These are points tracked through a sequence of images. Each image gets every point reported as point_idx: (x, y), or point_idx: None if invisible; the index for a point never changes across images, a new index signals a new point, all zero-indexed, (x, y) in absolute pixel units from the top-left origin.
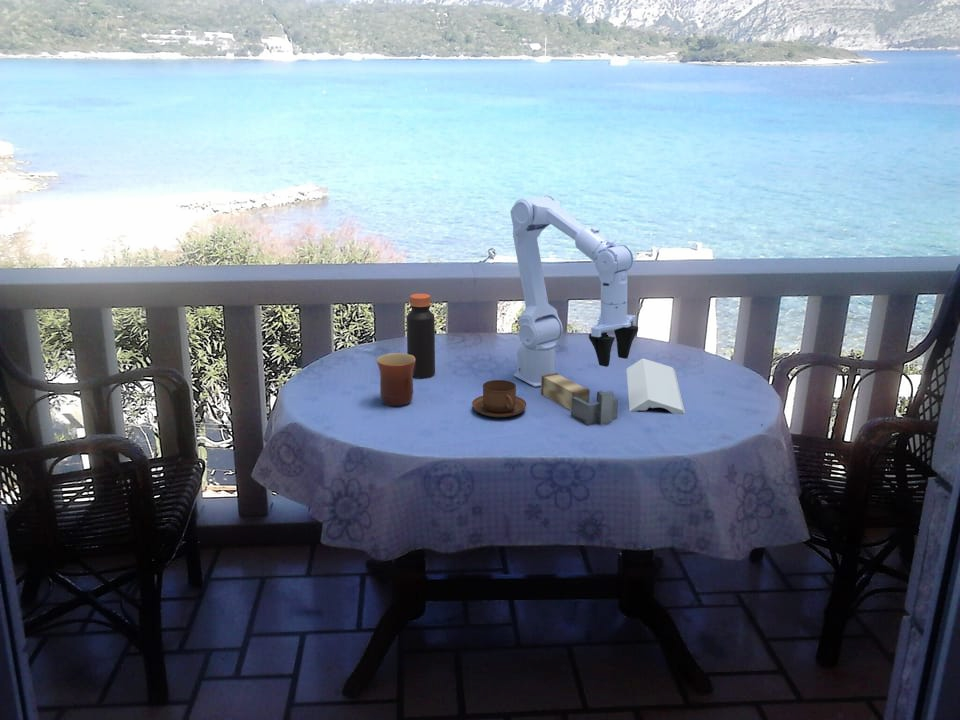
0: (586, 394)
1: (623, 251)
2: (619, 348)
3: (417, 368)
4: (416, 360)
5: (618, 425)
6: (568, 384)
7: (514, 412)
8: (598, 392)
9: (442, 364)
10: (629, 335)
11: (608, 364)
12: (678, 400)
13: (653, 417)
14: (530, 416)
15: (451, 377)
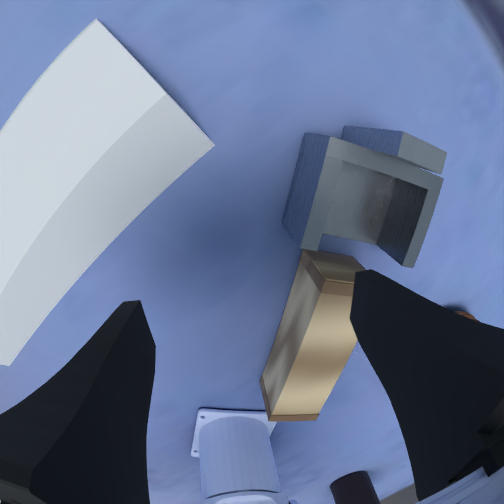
0: (333, 273)
1: None
2: (145, 388)
3: (371, 483)
4: (375, 492)
5: (348, 96)
6: (325, 351)
7: (462, 312)
8: (319, 243)
9: (296, 495)
10: (82, 440)
11: (366, 274)
12: (37, 88)
13: (201, 53)
14: (428, 299)
15: (334, 469)
